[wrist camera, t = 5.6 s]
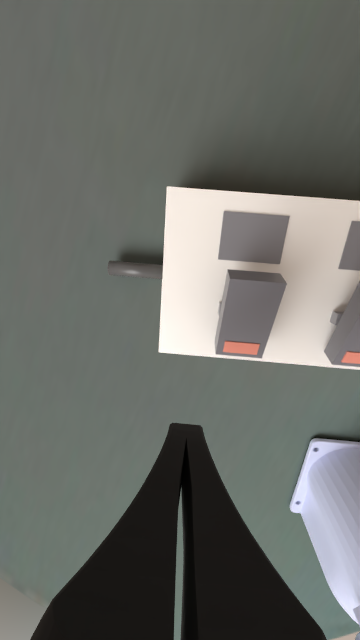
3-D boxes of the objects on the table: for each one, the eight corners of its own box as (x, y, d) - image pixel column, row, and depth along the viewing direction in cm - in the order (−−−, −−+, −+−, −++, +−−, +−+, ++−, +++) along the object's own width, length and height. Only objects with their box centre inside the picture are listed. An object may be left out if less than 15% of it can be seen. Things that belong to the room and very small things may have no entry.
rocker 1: (257, 345, 16) (262, 359, 15) (214, 341, 16) (215, 355, 15) (280, 273, 13) (287, 284, 12) (227, 269, 13) (230, 279, 12)
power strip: (465, 358, 20) (533, 389, 16) (115, 328, 20) (96, 351, 16) (535, 223, 16) (643, 219, 12) (113, 191, 17) (89, 178, 13)
